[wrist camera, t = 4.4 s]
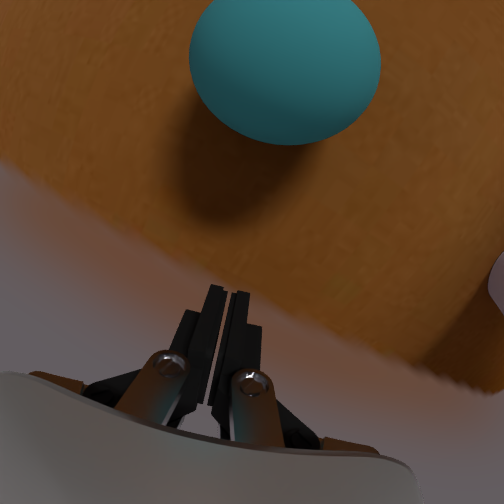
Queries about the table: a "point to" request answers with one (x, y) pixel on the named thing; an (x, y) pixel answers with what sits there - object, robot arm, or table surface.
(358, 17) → the ball
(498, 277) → the smoothie
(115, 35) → the table surface
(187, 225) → the table surface
